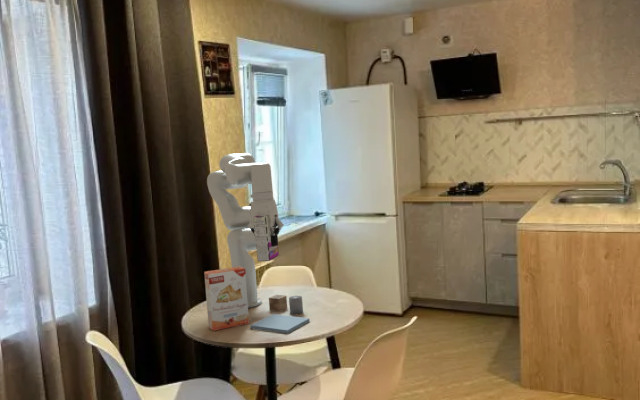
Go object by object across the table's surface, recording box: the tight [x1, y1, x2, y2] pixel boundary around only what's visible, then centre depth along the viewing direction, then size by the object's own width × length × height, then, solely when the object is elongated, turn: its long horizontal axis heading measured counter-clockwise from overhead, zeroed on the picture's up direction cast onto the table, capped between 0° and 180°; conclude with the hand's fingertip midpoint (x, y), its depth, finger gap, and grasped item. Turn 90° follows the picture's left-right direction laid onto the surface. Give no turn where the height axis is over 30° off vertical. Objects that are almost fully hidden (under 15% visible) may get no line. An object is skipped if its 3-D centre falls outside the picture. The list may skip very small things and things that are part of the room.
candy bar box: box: [254, 215, 280, 262], centre depth 208 cm, size 11×5×16 cm, turn 167°
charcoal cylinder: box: [288, 295, 304, 316], centre depth 219 cm, size 5×5×6 cm
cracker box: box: [203, 266, 250, 332], centre depth 208 cm, size 14×6×21 cm, turn 117°
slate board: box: [250, 313, 311, 334], centre depth 205 cm, size 16×14×1 cm
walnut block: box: [268, 294, 288, 312], centre depth 226 cm, size 5×5×5 cm
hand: (267, 245), depth 209 cm, fingers closed on candy bar box, 6 cm apart
